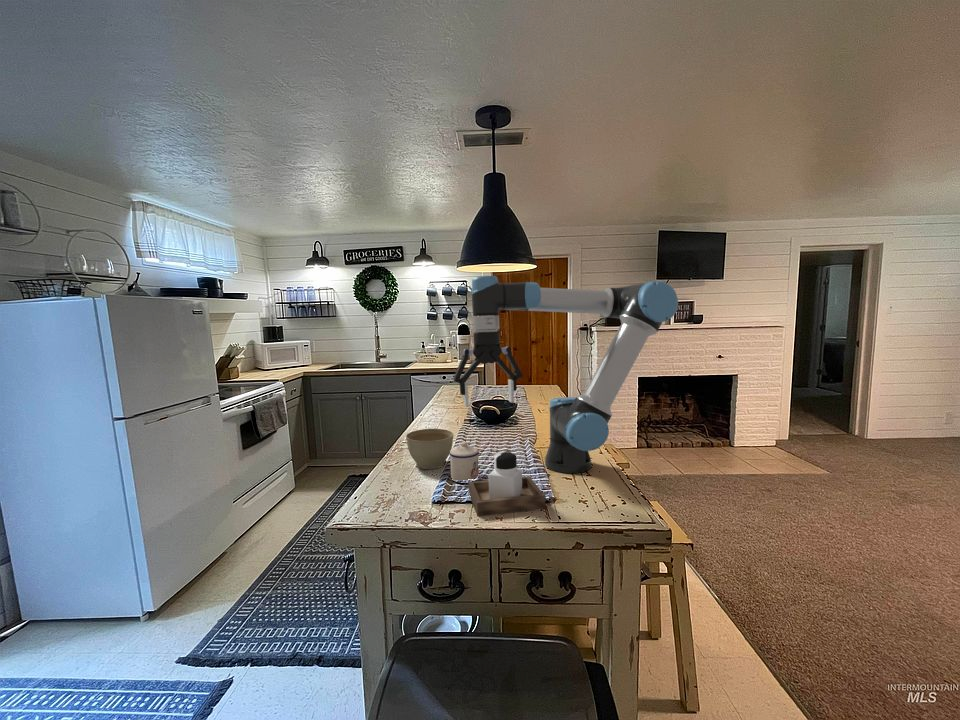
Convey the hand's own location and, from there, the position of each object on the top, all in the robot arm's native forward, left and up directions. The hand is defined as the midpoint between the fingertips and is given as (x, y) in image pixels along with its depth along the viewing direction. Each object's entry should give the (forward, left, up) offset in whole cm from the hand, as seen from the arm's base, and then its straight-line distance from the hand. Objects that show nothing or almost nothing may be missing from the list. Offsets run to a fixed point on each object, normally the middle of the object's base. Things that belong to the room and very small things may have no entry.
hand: (489, 404), depth 123 cm
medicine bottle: (-2, +11, -24) cm, 26 cm away
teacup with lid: (+6, -9, -25) cm, 27 cm away
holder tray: (-2, +11, -25) cm, 27 cm away
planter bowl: (+16, -23, -25) cm, 38 cm away
